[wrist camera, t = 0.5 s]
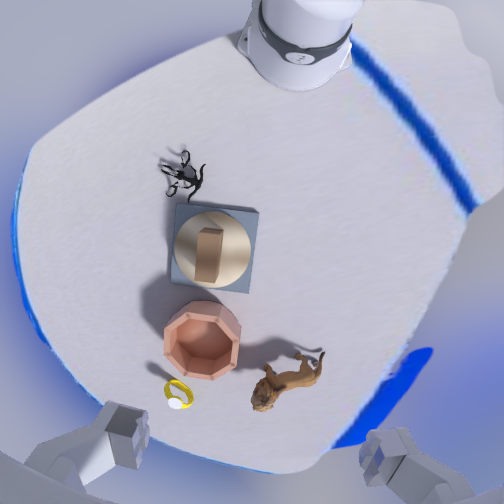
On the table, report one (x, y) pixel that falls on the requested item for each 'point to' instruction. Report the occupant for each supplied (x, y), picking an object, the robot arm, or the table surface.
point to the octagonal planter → (202, 340)
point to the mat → (243, 217)
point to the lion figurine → (284, 383)
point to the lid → (212, 249)
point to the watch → (177, 401)
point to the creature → (181, 176)
